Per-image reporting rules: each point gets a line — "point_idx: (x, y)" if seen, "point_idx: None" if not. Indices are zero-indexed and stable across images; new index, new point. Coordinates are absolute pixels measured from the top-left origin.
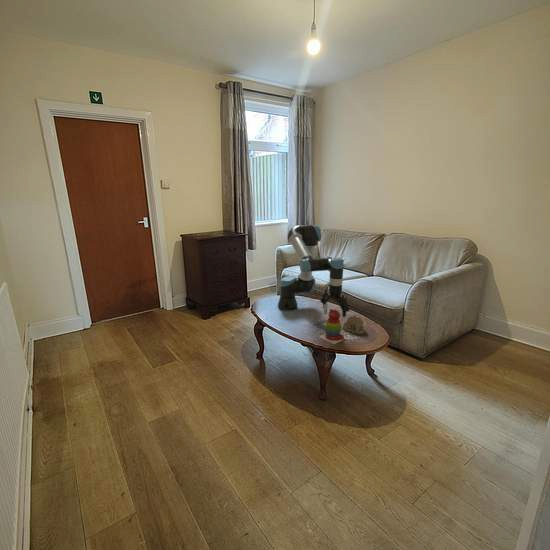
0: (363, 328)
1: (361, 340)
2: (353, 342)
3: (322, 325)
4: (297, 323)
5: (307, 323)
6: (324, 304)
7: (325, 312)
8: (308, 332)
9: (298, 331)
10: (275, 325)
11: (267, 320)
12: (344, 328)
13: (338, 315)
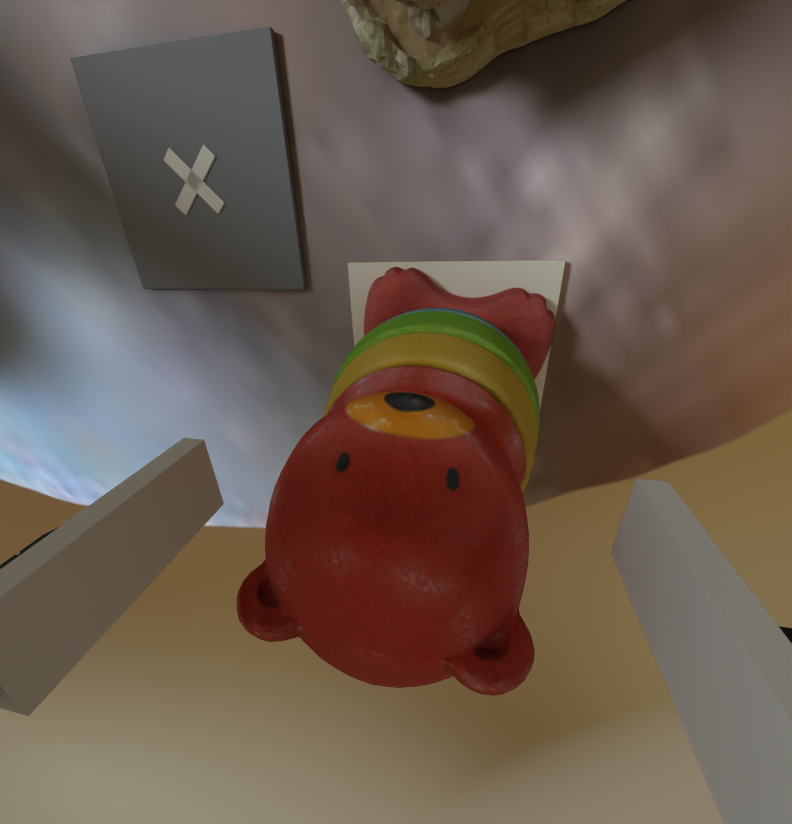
0: None
1: (766, 146)
2: (681, 284)
3: (203, 236)
4: (93, 372)
5: (114, 309)
6: (3, 703)
7: (195, 498)
8: (257, 428)
9: (213, 462)
10: (87, 491)
11: (10, 473)
12: (411, 75)
13: (525, 578)
